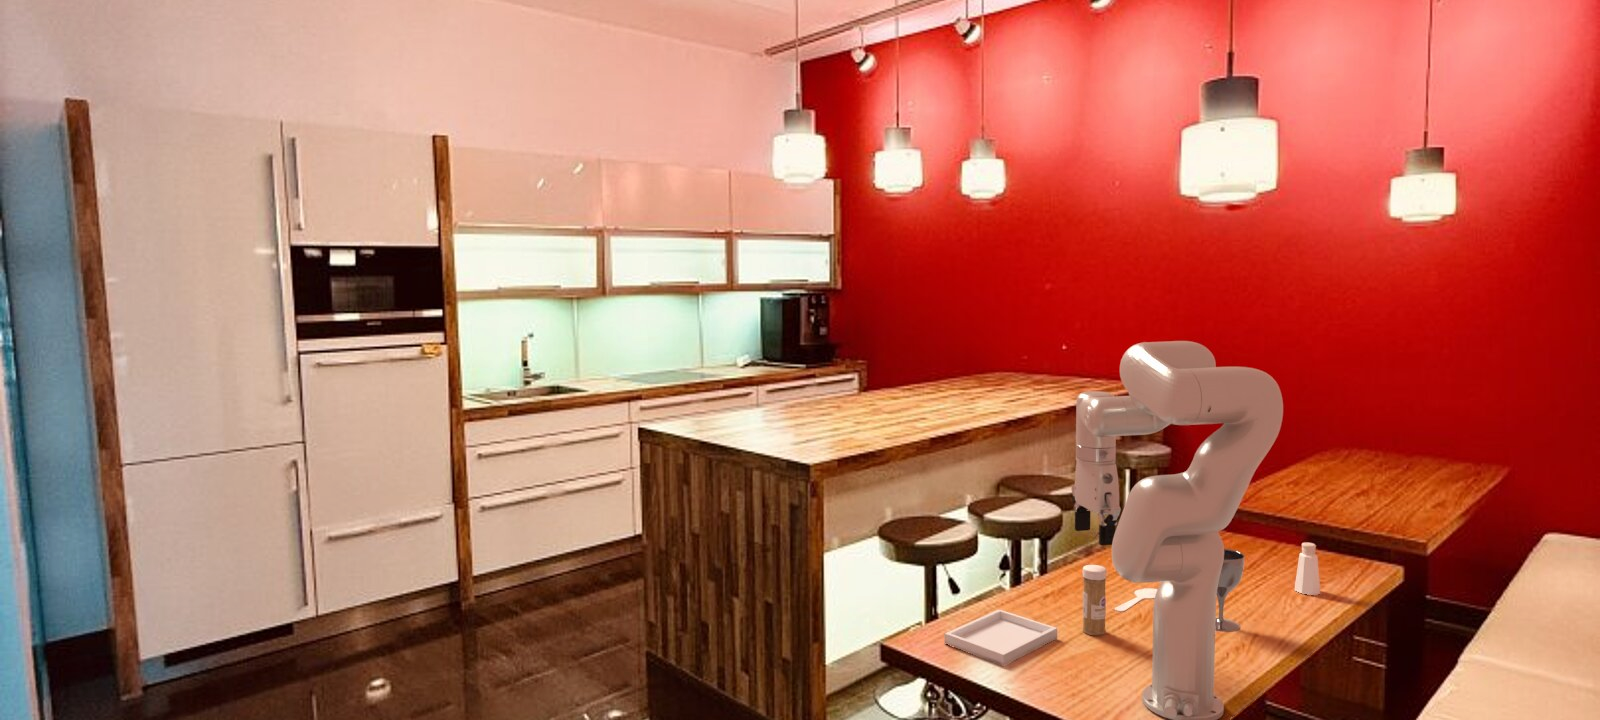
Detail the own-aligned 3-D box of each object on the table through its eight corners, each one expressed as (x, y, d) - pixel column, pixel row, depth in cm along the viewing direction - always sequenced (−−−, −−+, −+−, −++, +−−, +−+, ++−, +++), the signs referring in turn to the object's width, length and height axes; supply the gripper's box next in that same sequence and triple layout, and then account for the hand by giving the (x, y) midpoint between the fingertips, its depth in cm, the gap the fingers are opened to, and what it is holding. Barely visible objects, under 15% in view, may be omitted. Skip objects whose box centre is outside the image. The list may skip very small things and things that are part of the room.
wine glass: (1205, 614, 188) (1207, 545, 187) (1246, 623, 183) (1248, 552, 182) (1194, 626, 182) (1196, 555, 181) (1236, 635, 177) (1238, 562, 176)
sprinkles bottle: (1102, 638, 177) (1102, 572, 176) (1079, 633, 180) (1079, 568, 179) (1108, 630, 181) (1109, 566, 180) (1085, 625, 184) (1086, 562, 182)
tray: (1003, 666, 166) (1003, 654, 166) (944, 644, 176) (944, 633, 176) (1057, 638, 178) (1057, 627, 177) (999, 619, 188) (999, 609, 188)
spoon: (1105, 609, 193) (1105, 606, 193) (1144, 587, 205) (1144, 585, 205) (1129, 615, 189) (1129, 613, 189) (1167, 593, 202) (1167, 591, 202)
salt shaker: (1289, 591, 201) (1290, 543, 200) (1300, 585, 204) (1301, 538, 203) (1314, 597, 196) (1316, 549, 195) (1325, 591, 200) (1327, 544, 198)
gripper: (1136, 461, 169) (1135, 549, 171) (1091, 444, 186) (1090, 523, 188) (1100, 464, 168) (1099, 552, 170) (1057, 446, 185) (1057, 526, 187)
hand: (1094, 537), depth 179 cm, fingers open, 9 cm apart
